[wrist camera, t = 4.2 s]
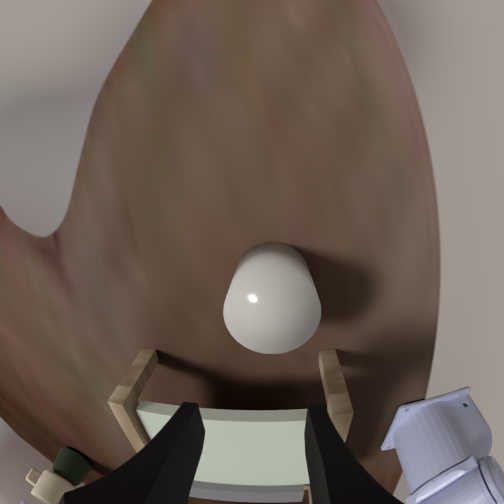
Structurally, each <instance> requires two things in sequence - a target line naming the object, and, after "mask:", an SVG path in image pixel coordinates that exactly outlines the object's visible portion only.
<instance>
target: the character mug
mask: <svg viewBox="0 0 504 504" xmlns="http://www.w3.org/2000/svg"><path fill="white" fill-rule="evenodd" d="M91 469H92V468H91V466H90V464H89V463H88V462H87V461H86V460H85V459H84V458H83V457H82V456H81V455H79V454H78V453H76V452H75V451H73V450H71V449H68V448H64V447H62V448H61V449H60V451H59V453H58V455H57V457H56V460H55V463H54V465H53V471H54V472H52V471H49V470H45V471H44V472H43V473H40V472H39V471H38V470H36V469H35V468H32V469H31V470H30V472H29V473H28V475H27V476H26V480H27V481H28V482H29V483H31V484H32V485H33V486H34V488H33V490H32V491H31V493H32V495H34V496H35V497H36V498H37V499H38V500H40V501H41V502H42V503H44V504H58V503H59V501H60V499H61V497H62V496H63V494H64V493H65V492H68V491H71V490H74V489H77V488H76V487H75V486H77V485H79V484H80V483H81V482H82V481H83V480H84V478H85V477H86V476H87V474H88V473H89V472H90V470H91ZM35 474H36V475H37V476H39V477H40V478H39V480H38V481H37V483H36V482H35V481H34V480H32V478H33V477H34V475H35Z"/></svg>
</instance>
